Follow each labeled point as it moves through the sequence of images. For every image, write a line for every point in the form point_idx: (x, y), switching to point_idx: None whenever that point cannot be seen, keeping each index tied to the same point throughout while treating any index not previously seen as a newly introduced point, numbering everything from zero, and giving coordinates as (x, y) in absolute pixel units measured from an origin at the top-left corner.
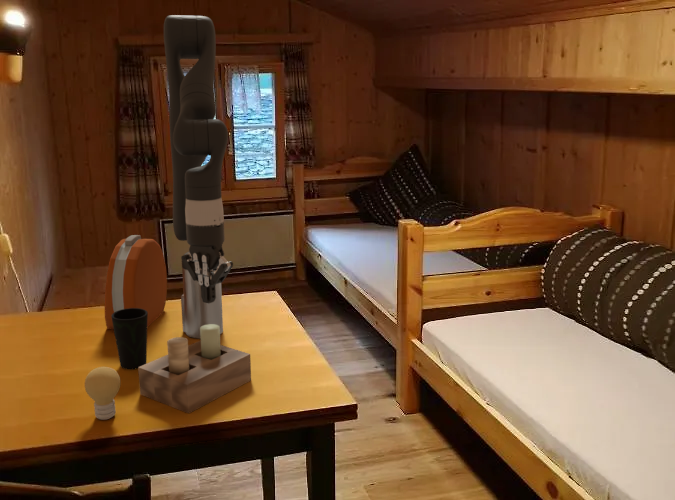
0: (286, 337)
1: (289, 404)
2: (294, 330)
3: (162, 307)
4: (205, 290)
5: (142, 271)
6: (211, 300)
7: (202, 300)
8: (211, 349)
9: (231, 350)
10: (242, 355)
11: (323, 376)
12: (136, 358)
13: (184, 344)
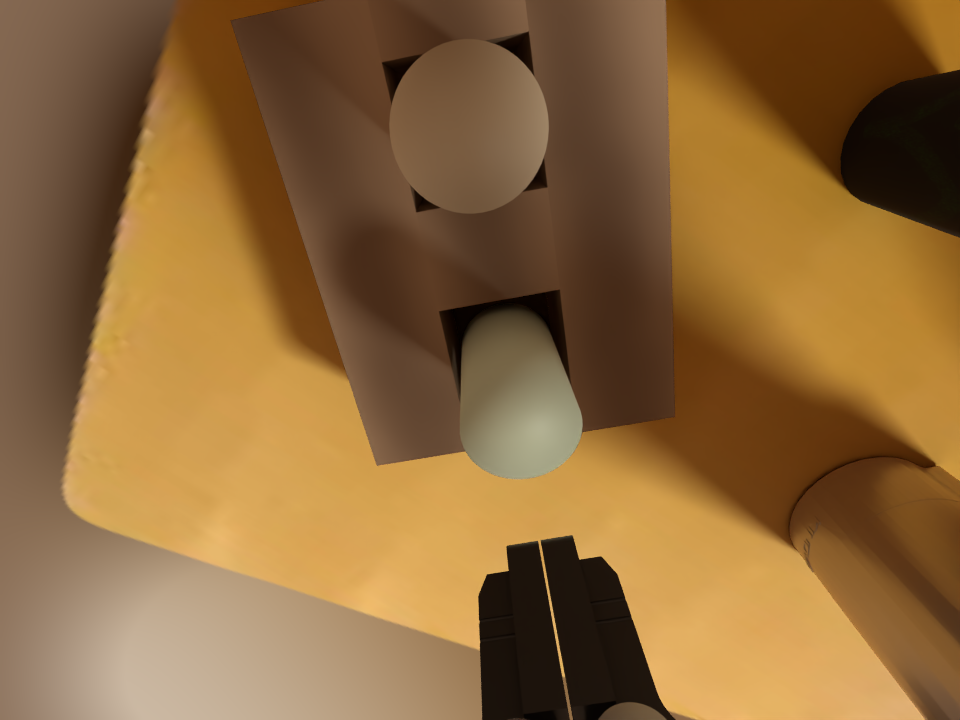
0: None
1: (142, 383)
2: None
3: None
4: (537, 658)
5: None
6: (486, 587)
7: (572, 543)
8: (468, 350)
9: None
10: (385, 436)
11: (267, 561)
12: (884, 130)
13: (393, 146)
